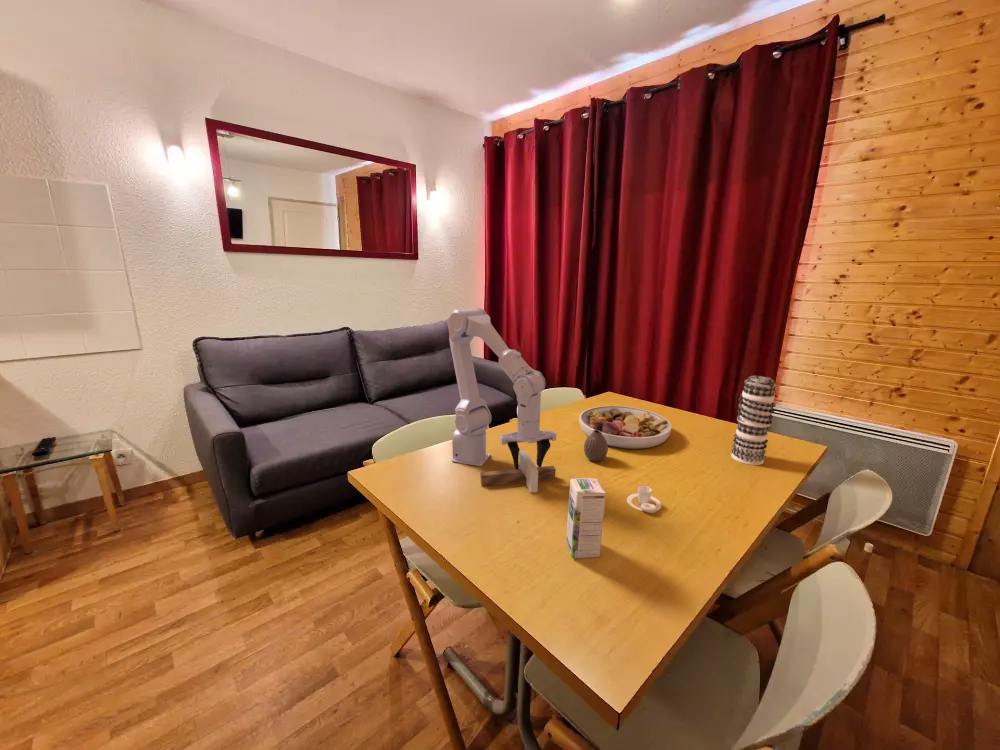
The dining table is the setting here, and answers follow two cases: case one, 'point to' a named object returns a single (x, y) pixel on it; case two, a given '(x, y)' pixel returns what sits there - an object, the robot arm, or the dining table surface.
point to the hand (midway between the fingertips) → (527, 466)
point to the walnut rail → (514, 476)
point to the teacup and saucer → (644, 500)
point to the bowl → (626, 426)
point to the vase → (596, 446)
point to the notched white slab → (529, 471)
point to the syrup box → (585, 517)
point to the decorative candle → (753, 420)
